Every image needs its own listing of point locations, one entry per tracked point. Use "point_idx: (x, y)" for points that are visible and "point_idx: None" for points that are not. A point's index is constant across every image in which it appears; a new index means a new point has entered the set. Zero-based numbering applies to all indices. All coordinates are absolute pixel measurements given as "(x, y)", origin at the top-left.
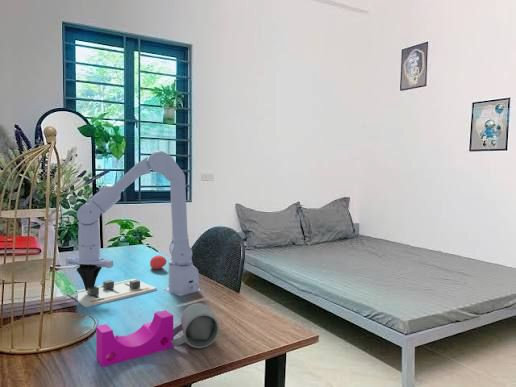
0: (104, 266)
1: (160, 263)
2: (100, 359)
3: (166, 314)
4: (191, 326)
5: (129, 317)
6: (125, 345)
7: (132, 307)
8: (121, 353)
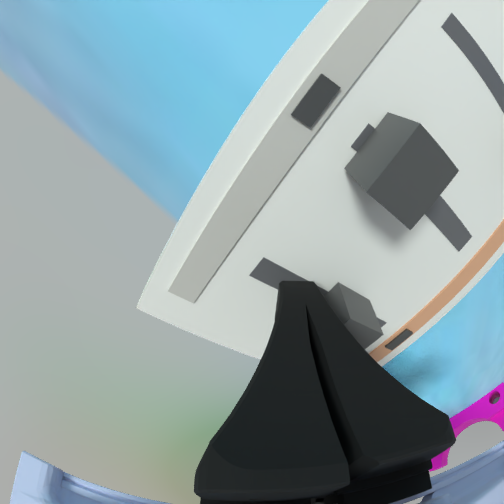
0: (474, 463)
1: None
2: None
3: None
4: None
5: (476, 369)
6: (455, 437)
7: (494, 327)
8: None
